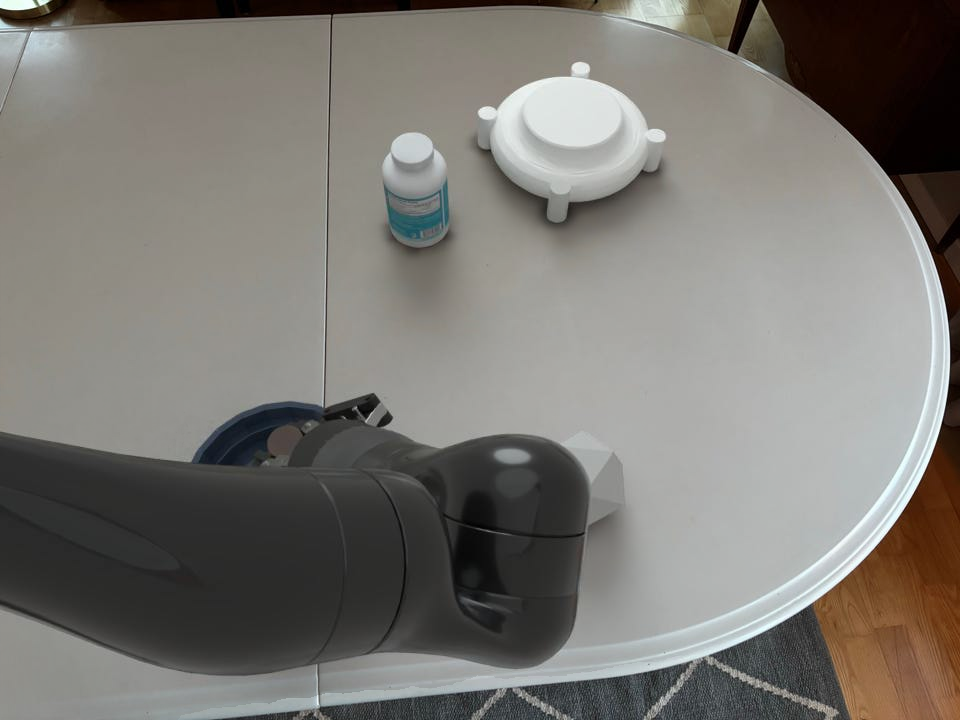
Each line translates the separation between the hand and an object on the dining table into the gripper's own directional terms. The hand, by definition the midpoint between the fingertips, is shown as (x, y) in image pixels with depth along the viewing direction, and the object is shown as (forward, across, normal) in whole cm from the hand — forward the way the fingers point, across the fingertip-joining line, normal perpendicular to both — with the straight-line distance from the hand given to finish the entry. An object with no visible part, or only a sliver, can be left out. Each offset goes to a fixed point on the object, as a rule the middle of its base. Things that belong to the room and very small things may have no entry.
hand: (278, 447), depth 65 cm
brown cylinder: (+3, 0, +6) cm, 6 cm away
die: (-1, -19, +25) cm, 31 cm away
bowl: (+13, +1, +10) cm, 17 cm away
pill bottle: (+24, -34, -1) cm, 42 cm away
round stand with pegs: (+20, -56, +4) cm, 60 cm away
